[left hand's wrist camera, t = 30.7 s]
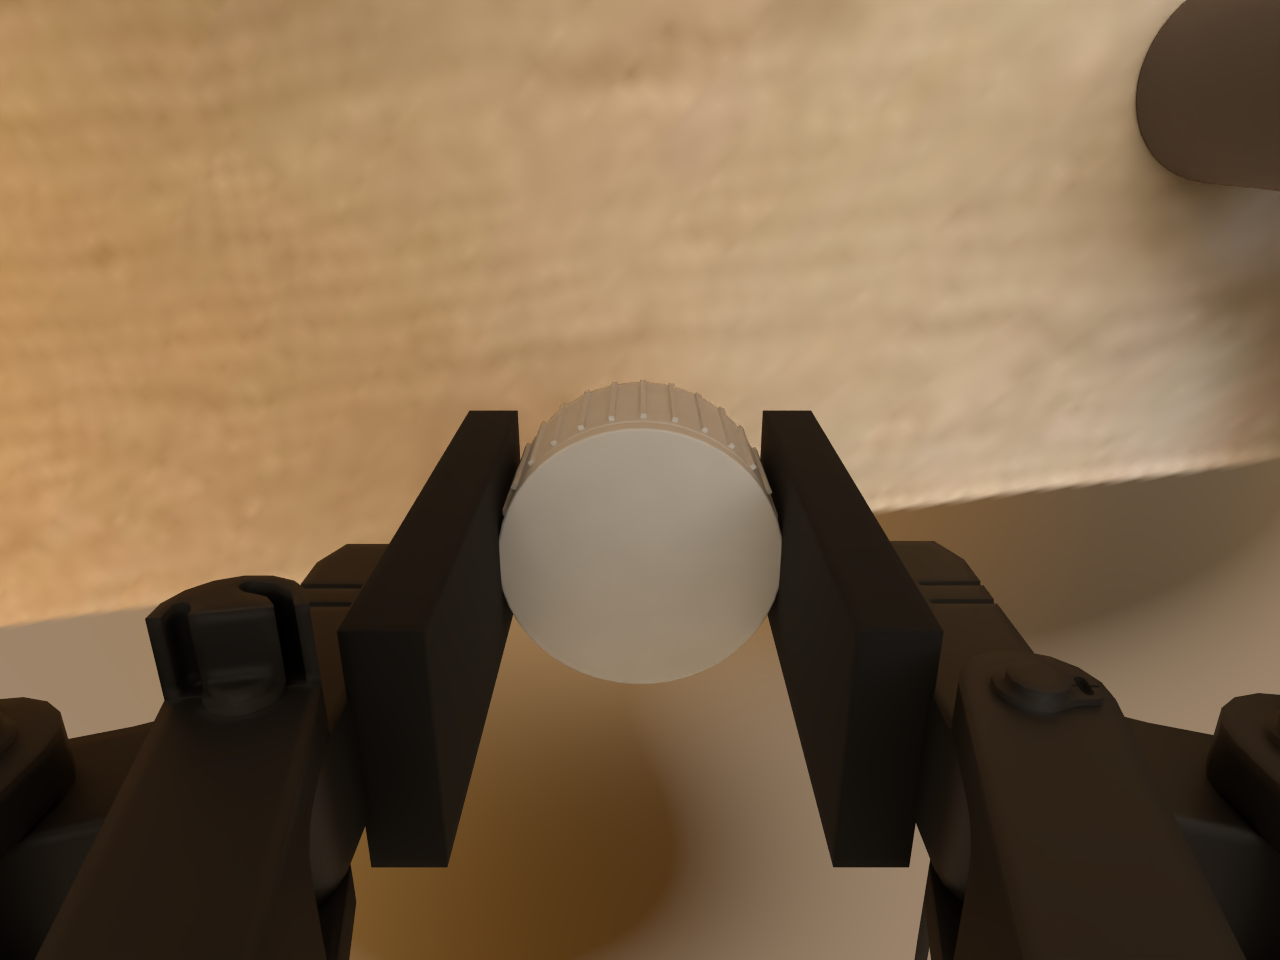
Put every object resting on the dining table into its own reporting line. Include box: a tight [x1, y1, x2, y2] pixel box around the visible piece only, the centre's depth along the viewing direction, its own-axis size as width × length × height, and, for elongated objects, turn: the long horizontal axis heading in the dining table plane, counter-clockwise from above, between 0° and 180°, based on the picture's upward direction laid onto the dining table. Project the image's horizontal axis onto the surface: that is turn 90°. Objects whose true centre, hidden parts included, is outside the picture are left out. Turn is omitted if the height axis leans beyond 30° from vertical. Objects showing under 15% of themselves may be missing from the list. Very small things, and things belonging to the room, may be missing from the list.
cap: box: [499, 380, 782, 684], centre depth 13 cm, size 4×4×2 cm
